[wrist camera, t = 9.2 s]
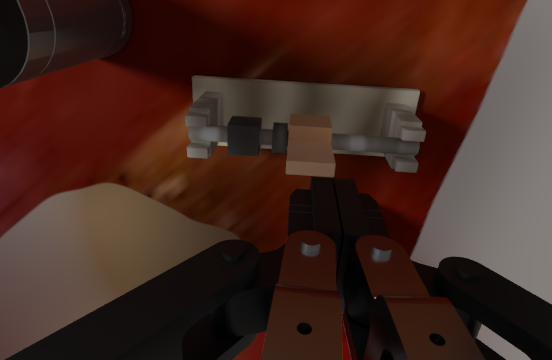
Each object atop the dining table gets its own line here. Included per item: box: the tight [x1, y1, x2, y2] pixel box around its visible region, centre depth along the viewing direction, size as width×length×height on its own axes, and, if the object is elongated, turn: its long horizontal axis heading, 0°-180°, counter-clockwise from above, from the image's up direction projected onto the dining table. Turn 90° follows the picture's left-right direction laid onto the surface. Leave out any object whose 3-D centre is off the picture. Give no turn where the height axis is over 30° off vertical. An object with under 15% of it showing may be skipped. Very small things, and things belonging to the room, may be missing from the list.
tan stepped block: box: [286, 113, 336, 177], centre depth 34 cm, size 4×4×9 cm
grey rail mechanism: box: [185, 75, 426, 173], centre depth 39 cm, size 26×8×10 cm, turn 87°
